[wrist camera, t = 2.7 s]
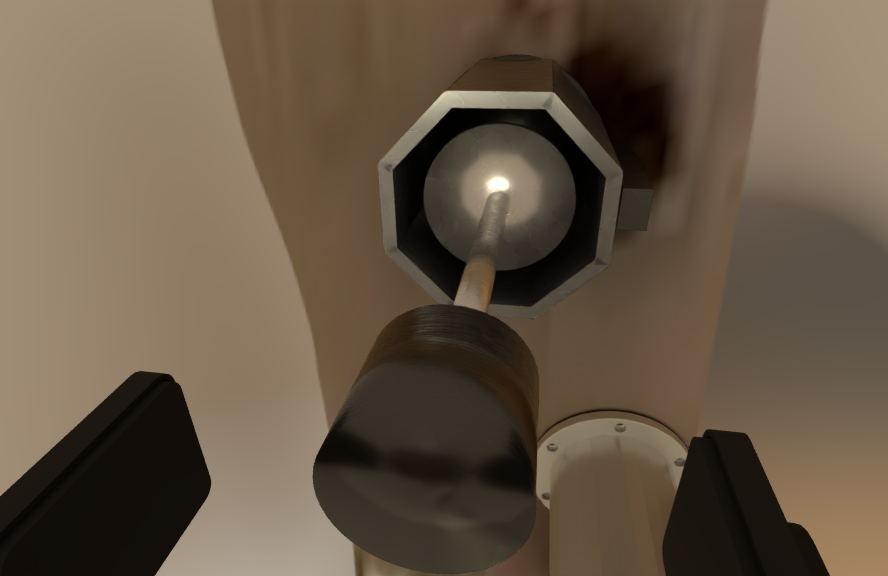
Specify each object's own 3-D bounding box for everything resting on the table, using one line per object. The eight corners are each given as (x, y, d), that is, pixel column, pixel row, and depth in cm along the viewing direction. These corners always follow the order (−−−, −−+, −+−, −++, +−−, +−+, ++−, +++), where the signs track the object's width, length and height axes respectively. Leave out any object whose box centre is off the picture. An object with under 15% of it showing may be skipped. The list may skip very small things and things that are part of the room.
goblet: (567, 269, 25) (591, 639, 10) (428, 260, 26) (276, 586, 12) (583, 123, 22) (646, 367, 7) (424, 120, 23) (208, 327, 8)
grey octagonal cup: (608, 225, 34) (635, 331, 23) (434, 216, 36) (384, 310, 25) (633, 54, 29) (681, 87, 18) (430, 54, 31) (366, 84, 20)
